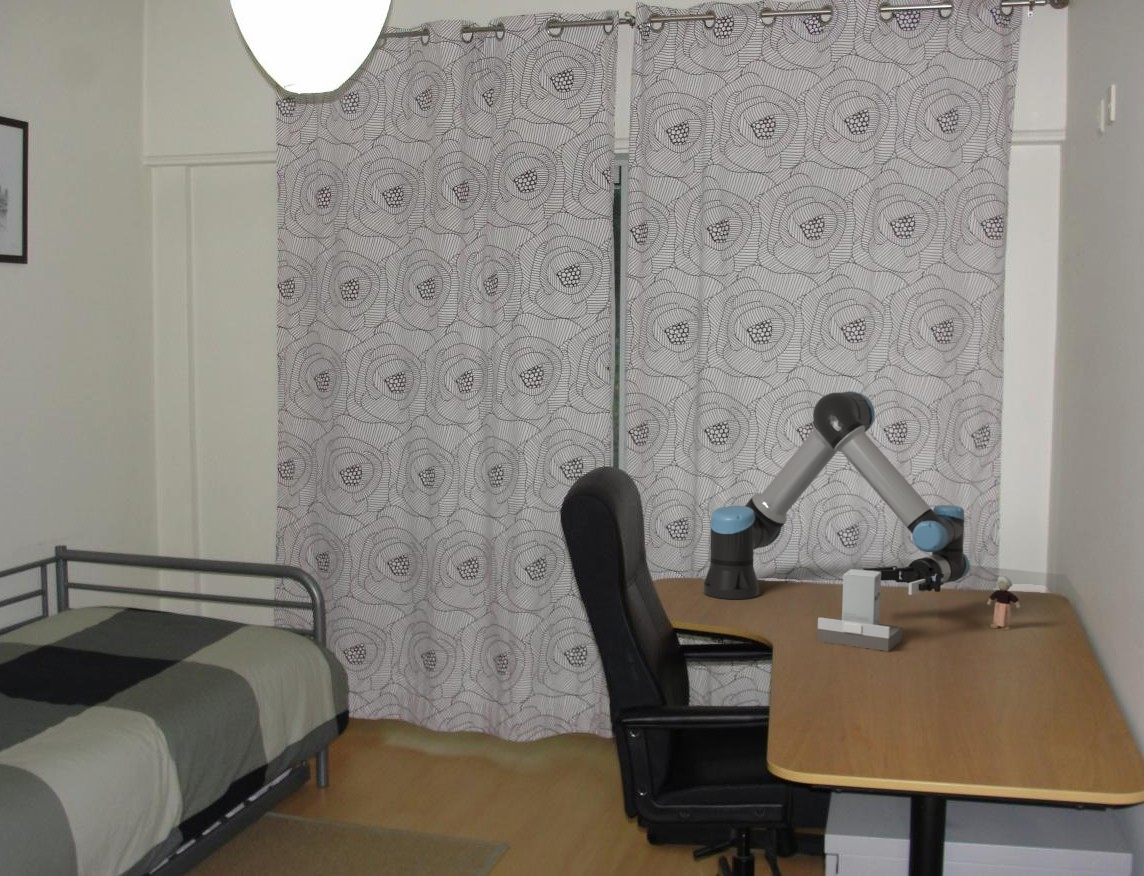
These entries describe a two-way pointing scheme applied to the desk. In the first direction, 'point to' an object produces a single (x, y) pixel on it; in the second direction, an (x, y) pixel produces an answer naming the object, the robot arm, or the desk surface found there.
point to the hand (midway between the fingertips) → (883, 584)
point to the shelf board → (858, 634)
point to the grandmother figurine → (1003, 604)
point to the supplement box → (861, 596)
